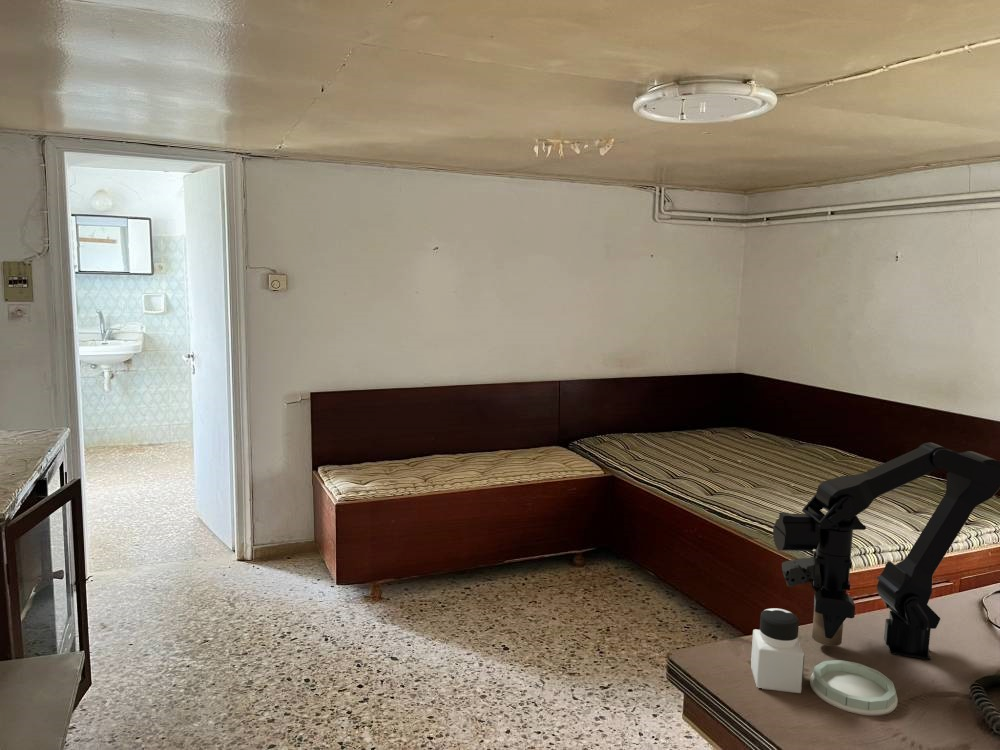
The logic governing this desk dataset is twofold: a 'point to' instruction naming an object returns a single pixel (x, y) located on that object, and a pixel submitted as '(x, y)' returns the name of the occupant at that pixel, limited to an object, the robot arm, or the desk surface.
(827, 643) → the brown domed cylinder
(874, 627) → the desk surface
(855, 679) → the ring dish
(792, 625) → the medicine bottle
